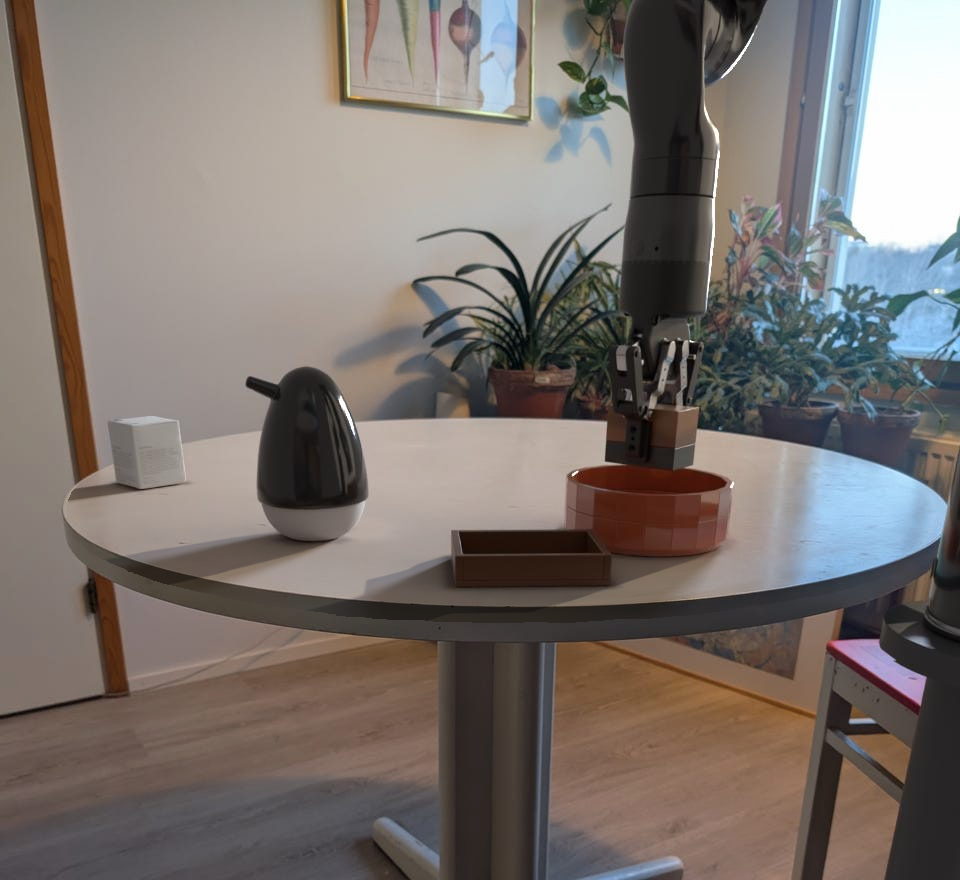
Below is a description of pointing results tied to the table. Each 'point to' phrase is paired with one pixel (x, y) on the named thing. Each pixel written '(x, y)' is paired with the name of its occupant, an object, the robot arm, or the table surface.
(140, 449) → the product carton
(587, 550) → the tray
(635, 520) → the bowl
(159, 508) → the table surface
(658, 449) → the eraser
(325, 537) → the pump dispenser
